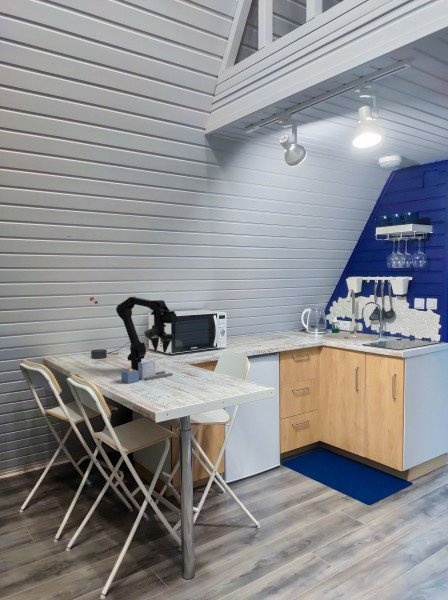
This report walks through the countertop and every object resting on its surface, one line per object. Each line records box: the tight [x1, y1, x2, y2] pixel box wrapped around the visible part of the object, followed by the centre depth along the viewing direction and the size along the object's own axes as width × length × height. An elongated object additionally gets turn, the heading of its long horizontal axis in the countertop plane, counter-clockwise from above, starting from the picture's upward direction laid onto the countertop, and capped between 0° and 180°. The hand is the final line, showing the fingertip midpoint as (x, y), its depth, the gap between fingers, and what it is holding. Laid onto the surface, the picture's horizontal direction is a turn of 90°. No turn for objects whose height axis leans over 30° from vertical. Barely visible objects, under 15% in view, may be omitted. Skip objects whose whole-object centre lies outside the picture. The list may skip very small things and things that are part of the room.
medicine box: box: [138, 360, 157, 381], centre depth 235 cm, size 8×4×9 cm, turn 131°
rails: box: [144, 370, 173, 381], centre depth 238 cm, size 8×16×1 cm, turn 130°
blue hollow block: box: [120, 369, 140, 385], centre depth 228 cm, size 7×6×6 cm
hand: (160, 351), depth 247 cm, fingers open, 9 cm apart
